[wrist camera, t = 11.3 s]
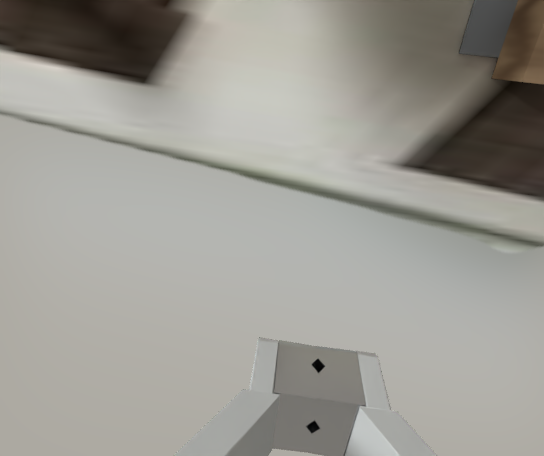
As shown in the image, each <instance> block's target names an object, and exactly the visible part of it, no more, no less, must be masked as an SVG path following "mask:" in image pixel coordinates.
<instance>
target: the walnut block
mask: <svg viewBox="0 0 544 456" xmlns="http://www.w3.org/2000/svg"><path fill="white" fill-rule="evenodd" d="M492 79H500V80H509V81H518V82H527V83H536V84H544V0H518V2H517V5H516V8H515V11H514V14H513V17H512V20H511V23H510V26H509V29H508V31H507V34H506V37H505V40H504V43H503V46H502V49H501V52H500V55H499V58H498V61H497V64H496V67H495V70H494V73H493V76H492Z"/></svg>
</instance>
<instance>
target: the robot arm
mask: <svg viewBox="0 0 544 456" xmlns="http://www.w3.org/2000/svg"><path fill="white" fill-rule="evenodd" d="M272 448H274V449H282V450H291V451H300V452H308V453H313V454H318V455H324V456H437V455H436V453H435V452H434V451H433V450H432V449H431V448H430V447H429V446H428V445H427V443H425V441H424V440H423V439H422V438H421V437H420V436H419V435H418V434H417V432H416V431H415V430H414V429H413V428H412V427H411V426H410V425H409V424H408V422H407V421H406V420H405V419H404V418H403V417H402V416H401V415H400V414H399V413H398V412H397V411H392V410H391V408H390V404H389V400H388V396H387V392H386V388H385V384H384V380H383V375H382V371H381V368H380V363H379V359H378V356H377V355H376V354H375V353H367V352H359V351H350V350H342V349H334V348H327V347H319V346H311V345H305V344H299V343H293V342H287V341H281V340H279V342H278V340H272V339H266V338H260V337H259V339H258V342H257V348H256V354H255V359H254V365H253V370H252V376H251V382H250V388H249V390H246V389H243V390H242V391H241V392H240V393H239V394H238V395H236V396H235V397H234V399H232V400H231V401H230V402H229V403H228V404H227V405H226V406H225V407H224V408H223V409H222V410H221V411H220V412H219V413H218V414H217V415H215V416H214V417H213V418H212V420H210V421H209V422H208V423H207V424H206V425H205V426H204V427H203V428H202V429H201V430H200V431H199V432H198V433H197V434H196V435H195V436H194V437H192V438H191V439H190V440H189V441H188V442H187V443H186V444H185V445H184V446H183V447H182V448H181V449H180V450H179V451H178V452H177V453H176V454H175V455H174V456H268V455H269V453H270V452H271V450H272Z"/></svg>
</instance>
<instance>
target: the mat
mask: <svg viewBox="0 0 544 456" xmlns="http://www.w3.org/2000/svg"><path fill="white" fill-rule="evenodd" d="M517 2H518V0H474V3H473V7H472V10H471V14H470V17H469V20H468V24H467V27H466V31H465V34H464V37H463V41H462V44H461V48H460V51H459V54H469V55H478V56H487V57H496V58H499V55H500V52H501V49H502V46H503V43H504V40H505V37H506V34H507V31H508V29H509V26H510V23H511V20H512V17H513V14H514V11H515V8H516V5H517Z"/></svg>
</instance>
